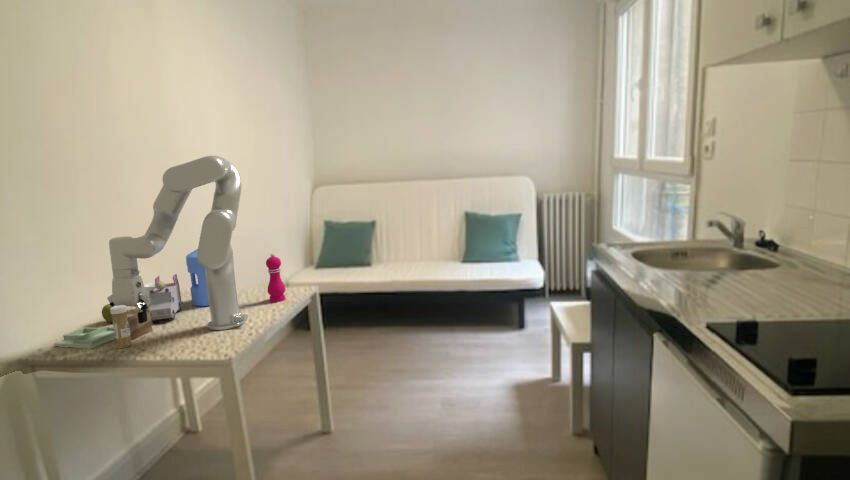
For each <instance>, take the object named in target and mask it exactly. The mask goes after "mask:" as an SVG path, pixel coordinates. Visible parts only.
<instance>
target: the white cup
mask: <svg viewBox="0 0 850 480" xmlns="http://www.w3.org/2000/svg"><path fill="white" fill-rule="evenodd" d="M162 282H163V283H164V284H166V283H165V282H164V281H162ZM144 288H145V293H146V296H147V297H149V293H150V291H151V290H154V289H155V288H156V287H155V282H150V283H147V284H144ZM149 298H150V297H149ZM149 308H150V306H149V307H148V310H149Z"/></svg>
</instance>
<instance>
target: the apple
mask: <svg viewBox="0 0 850 480" xmlns="http://www.w3.org/2000/svg"><path fill="white" fill-rule="evenodd" d="M111 307H112V306H111V305H110V303H107V304H105V305H104V306H103V307H102V309H101V315H102V318H103V320H104V321H105V322H107V323H111V324H113V320H112V315H111V313H110V308H111Z"/></svg>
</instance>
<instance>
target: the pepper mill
mask: <svg viewBox="0 0 850 480" xmlns="http://www.w3.org/2000/svg"><path fill="white" fill-rule="evenodd" d="M275 255H276V254H275V253H274V252H273V253H270V257H268V258H267V259H266V261H265V266H266V268H268V269H267V272H268V273H269V283H268V286H267V294H268V295H269V302H271V303H278V302H280V303H281V302H282V301H285V300H286V295H285V292H286V286H285V284H284V282H283V280H282V278H281V266H282V260H281V258H279V257H277V256H275Z"/></svg>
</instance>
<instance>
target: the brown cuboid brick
mask: <svg viewBox="0 0 850 480" xmlns="http://www.w3.org/2000/svg"><path fill="white" fill-rule="evenodd" d="M146 312H147V321H146V322H144V323H139V321H138V312H137V313H135V314H132V315H129V316H127V318H128V323H129V328H130V334H131V335H130V336H131V342H133V341H134V340H136V339H138V338H141V337H143V336H145V335H148V334H149V333H152V332H153V325H152V320H151V318H150V313H149V311H146Z"/></svg>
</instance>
